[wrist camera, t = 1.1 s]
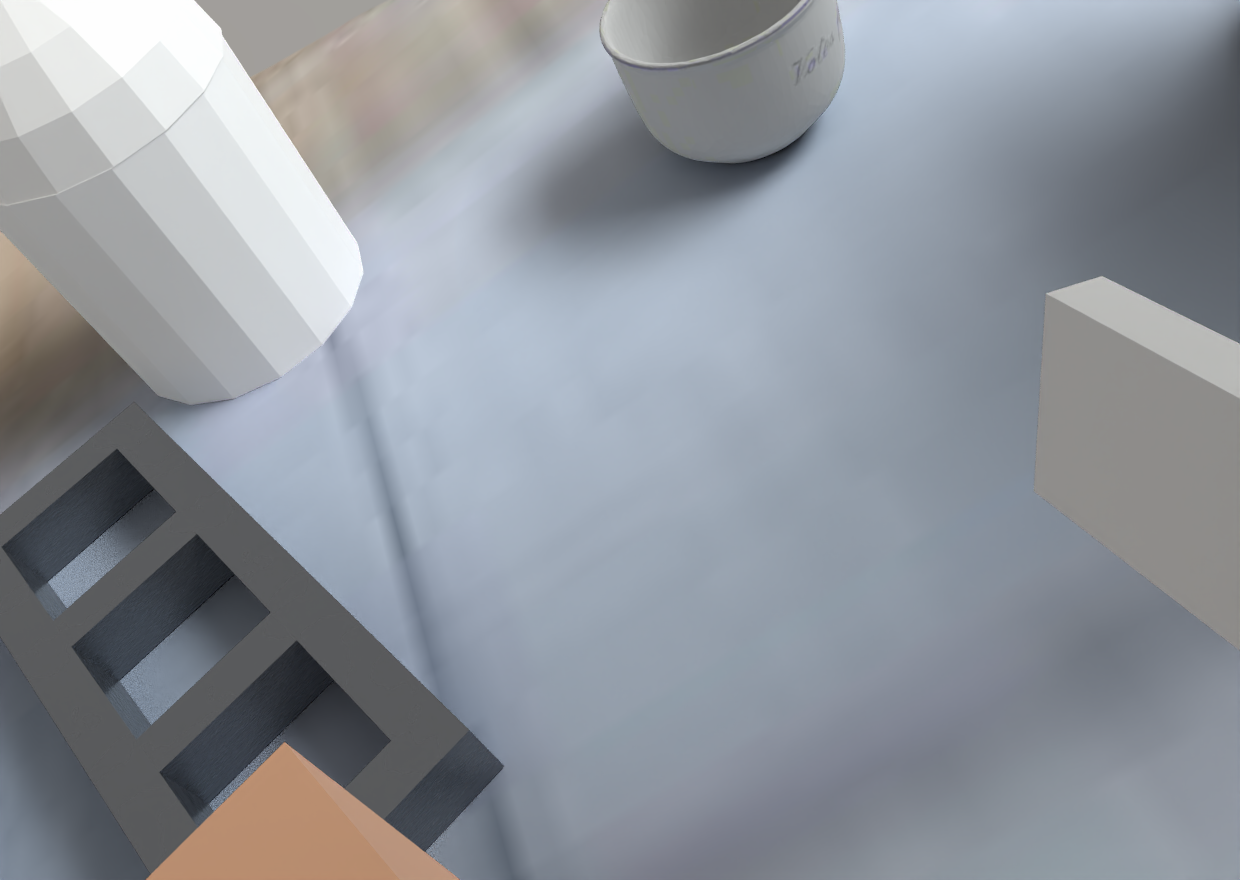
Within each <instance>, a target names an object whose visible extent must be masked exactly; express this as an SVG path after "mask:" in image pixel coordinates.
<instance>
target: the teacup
mask: <svg viewBox="0 0 1240 880" xmlns="http://www.w3.org/2000/svg"><path fill="white" fill-rule="evenodd" d="M599 31H600V38H601V41H602V44H603V46H604V48H605V50H606V51H607V53H608V54H609V55H610V56H611V57H612V59H613V61H614V64H615V66H616V68H617V70H618V73H619V75H620V77H621V79H622V81H623V83H624V85H625V87H626V89H627V92H628V94H629V96H630V98H631V100H632V102H633V104H634V106H635V108H636V110H637V112H638V113H639V115H640V117H641V119H642V120H643V122H644V124H645V125H646V127H647V128H648V130H649V131H650V132H651V134H652V135H653V136H654V137H655V138H656V139H657V140H658V141H659V142H660V143H661V144H662V145H663V146H665V147H666V148H668V149H669V150H671V151H672V152H674V153H676V154H678V155H681V156H683V157H686V158H689V159H692V160H697V161H704V162H717V163H741V162H748V161H752V160H756V159H760V158H763V157H766V156H768V155H770V154H773V153H775V152H777V151H779V150H781V149H783V148H785V147H786V146H788V145H789V144H791V143H792V142H793V141H795V140H796V139H798V138H799V137H800V136H801V135H802V134H803V133H804V132H805V131H806V130H807V129H808V128H809V127H810V126H811V125H812V124H813V123H814V122H815V121H816V120H817V119H818V118H819V117H820V116H821V115H822V114H823V112H824V111H825V110H826V109H827V108H828V106H829V105H830V103H831V102H832V100H833V98H834V96H835V94H836V93H837V90H838V88H839V86H840V83H841V80H842V77H843V72H844V65H845V44H844V36H843V29H842V24H841V19H840V14H839V9H838V4H837V0H608V2H607V4H606V6H605V8H604V10H603V14H602V17H601V20H600V29H599Z"/></svg>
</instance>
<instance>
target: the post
mask: <svg viewBox="0 0 1240 880" xmlns="http://www.w3.org/2000/svg"><path fill="white" fill-rule="evenodd" d="M146 880H460V879H459V878H457V877H456V876H455V875H454V874H452V873H451V872H450V871H448V870H447V869H446V868H445V867H443V866H442V865H441V864H440V863H438V862H437V861H436V860H434V859H433V858H432V857H431V856H429V855H428V854H427V853H425V852H424V851H423V850H422V849H420V848H419V847H418V846H417V845H415V844H414V843H413V842H411V841H410V840H409V839H408V838H406V837H405V836H404V835H403V834H401V833H400V832H399V831H397V830H396V829H395V828H394V827H392V826H391V825H390V824H388V823H387V822H386V821H385V820H383V819H382V818H381V817H380V816H378V815H377V814H376V813H374V812H373V811H372V810H371V809H369V808H368V807H367V806H366V805H364V804H363V803H362V802H360V801H359V800H358V799H357V798H355V797H354V796H353V795H351V794H350V793H349V792H348V791H346V790H345V789H344V788H343V787H341V786H340V785H339V784H337V783H336V782H335V781H334V780H332V779H331V778H330V777H329V776H327V775H326V774H325V773H323V772H322V771H321V770H320V769H318V768H317V767H316V766H314V765H313V764H312V763H311V762H309V761H308V760H307V759H306V758H304V757H303V756H302V755H300V754H299V753H298V752H297V751H295V750H294V749H293V748H292V747H290V746H289V745H288V744H286V743H285V742H284V743H283V744H282V745H281V746H280V747H279V748H278V749H277V750H276V751H275V752H274V753H273V754H272V755H271V756H270V757H269V758H268V759H267V760H266V761H265V762H264V763H263V764H262V765H261V766H260V767H259V768H258V769H257V770H256V771H255V772H254V773H253V774H252V775H251V776H250V777H249V778H248V779H247V780H246V781H245V782H244V783H243V784H242V785H241V786H240V787H239V788H238V789H236V790H235V791H234V792H233V793H232V794H231V795H230V796H229V797H228V798H227V799H226V800H225V801H224V802H223V803H222V804H221V805H220V806H219V807H218V808H217V809H216V810H215V811H214V812H213V813H212V814H211V815H210V816H209V817H208V818H207V819H206V820H205V821H204V822H203V823H202V824H201V825H200V826H199V827H198V828H197V829H196V830H195V831H194V832H193V833H192V834H191V835H190V836H189V837H188V838H187V839H186V840H185V841H184V842H183V843H182V844H181V845H180V846H179V847H178V848H177V849H176V850H175V851H174V852H173V853H172V854H171V855H170V856H169V857H168V858H167V859H166V860H165V861H164V862H163V863H162V864H161V865H160V866H159V867H158V868H157V869H156V870H155V871H154V872H153V873H152V874H151V875H150V876H149V877H148V878H147V879H146Z"/></svg>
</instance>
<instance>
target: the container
mask: <svg viewBox="0 0 1240 880" xmlns="http://www.w3.org/2000/svg"><path fill="white" fill-rule="evenodd" d="M0 231H1V232H2V233H3V234H4V235H5V236H6V237H7V238H8V239H9V240H10V241H11V242H12V243H13V244H14V245H15V246H16V247H17V248H18V249H19V251H20V252H21V253H22V254H23V255H24V256H25V257H26V258H27V259H28V260H29V261H30V262H31V263H32V264H33V265H34V266H35V267H36V268H37V269H38V270H39V272H40V273H41V274H42V275H43V276H44V277H45V278H46V279H47V280H48V281H49V282H50V283H51V284H52V285H53V286H54V287H55V288H56V289H57V290H58V291H59V292H60V294H61V295H62V296H63V297H64V298H65V299H66V300H67V301H68V302H69V303H70V304H71V305H72V306H73V307H74V308H75V309H76V310H77V311H78V312H79V313H80V314H81V316H82V317H83V318H84V319H85V320H86V321H87V322H88V323H89V324H90V325H91V326H92V327H93V328H94V329H95V330H96V331H97V332H98V333H99V334H100V335H101V336H102V338H103V339H104V340H105V341H106V342H107V343H108V344H109V345H110V346H111V347H112V348H113V349H114V350H115V351H116V352H117V353H118V354H119V355H120V356H121V357H122V358H123V360H124V361H125V362H126V363H127V364H128V365H129V366H130V367H131V368H132V369H133V370H134V371H135V372H136V373H137V374H138V375H139V376H140V377H141V378H142V379H143V380H144V382H145V383H146V384H147V385H148V386H149V387H150V388H151V389H152V390H153V391H154V392H155V393H156V394H157V395H158V396H160V397H164V398H167V399H171V400H174V401H178V402H181V403H185V404H188V405H195V404H202V403H209V402H216V401H222V400H229V399H235V398H237V397H239V396H241V395H244V394H246V393H248V392H250V391H252V390H255V389H257V388H259V387H261V386H263V385H266V384H268V383H270V382H272V381H274V380H277V379H279V378H281V377H282V376H284V375H285V374H286V373H287V372H289V371H290V370H291V369H293V368H294V367H295V366H296V365H298V364H299V363H300V362H302V361H303V360H304V359H305V358H307V357H308V356H309V355H311V354H312V353H313V352H314V351H316V350H317V349H318V348H320V347H321V346H322V345H323V344H324V343H325V341H326V340H327V339H328V338H329V336H330V335H331V334H332V332H333V331H334V330H335V329H336V327H337V326H338V325H339V323H340V322H341V321H342V320H343V318H344V317H345V316H346V314H347V313H348V312H349V310H350V309H351V308H352V305H353V302H354V299H355V296H356V293H357V290H358V287H359V284H360V281H361V278H362V275H363V267H362V262H361V257H360V252H359V247H358V243H357V242H356V240H355V239H354V237H353V236H352V234H351V233H350V231H349V230H348V228H347V226H346V225H345V223H344V222H343V220H342V219H341V217H340V216H339V214H338V213H337V211H336V210H335V208H334V207H333V205H332V203H331V202H330V200H329V199H328V197H327V196H326V194H325V193H324V191H323V190H322V188H321V187H320V185H319V183H318V182H317V180H316V179H315V177H314V176H313V174H312V173H311V171H310V170H309V168H308V167H307V165H306V164H305V162H304V160H303V159H302V157H301V156H300V154H299V153H298V151H297V150H296V148H295V147H294V145H293V144H292V142H291V140H290V139H289V137H288V136H287V134H286V133H285V131H284V130H283V128H282V127H281V125H280V124H279V122H278V120H277V119H276V117H275V116H274V114H273V113H272V111H271V110H270V108H269V107H268V105H267V104H266V102H265V101H264V99H263V97H262V96H261V94H260V93H259V91H258V90H257V88H256V87H255V85H254V84H253V82H252V81H251V79H250V77H249V76H248V75H247V73H246V71H245V70H244V68H243V67H242V65H241V64H240V62H239V61H238V59H237V58H236V56H235V55H234V53H233V52H232V50H231V48H230V47H229V45H228V44H227V42H226V41H225V39H224V38H223V36H222V31H221V28H220V27H219V26H218V25H217V24H216V23H215V22H214V21H213V20H212V19H211V18H210V17H209V16H208V15H207V13H206V12H205V11H204V10H203V9H202V8H201V7H200V6H199V5H198V4H197V3H196V2H195V1H194V0H0Z"/></svg>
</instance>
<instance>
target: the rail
mask: <svg viewBox="0 0 1240 880" xmlns="http://www.w3.org/2000/svg"><path fill="white" fill-rule="evenodd" d="M152 489H155V490H156V491H157V492H158V493H159V494H160V495H161V496H162V497H163V498H164V499H165V500H166V501H167V502H168V503H169V504H170V506H171V507H172V508H173V509H174V510H175V511H176V513H174V514H173V515H172V516H171V517H170V518H169V519H168V520H167V521H165V522H164V523H163V524H162V525H161V526H160V527H159V528H157V529H156V530H155V531H154V532H153V533H152V534H151V535H150V536H148V537H147V538H146V539H145V540H144V541H143V542H142V543H141V544H139V545H138V546H137V547H136V548H135V549H134V550H133V551H132V552H130V553H129V554H128V555H127V556H126V557H125V558H124V559H123V560H121V561H120V562H119V563H118V564H117V565H116V566H115V567H114V568H112V569H111V570H110V571H109V572H108V573H107V574H106V575H104V576H103V577H102V578H101V579H100V580H99V581H98V582H97V583H95V584H94V585H93V586H92V587H91V588H90V589H89V590H88V591H86V592H85V593H84V594H83V595H82V596H81V597H80V598H79V599H77V600H76V601H75V602H74V603H73V604H72V605H71V606H70V607H68V608H66V607H65V606H64V604H63V603H62V602H61V600H60V599H59V597H58V596H57V595H56V593H55V592H54V590H53V589H52V588H51V586H50V585H49V584H48V582H47V581H48V580H49V579H51V578H52V577H53V576H54V575H55V574H56V573H57V572H59V571H60V570H61V569H62V568H63V567H64V566H66V565H67V564H68V563H69V562H70V561H71V560H72V559H74V558H75V557H76V556H77V555H78V554H79V553H80V552H82V551H83V550H84V549H85V548H86V547H87V546H88V545H90V544H91V543H92V542H93V541H94V540H95V539H96V538H98V537H99V536H100V535H101V534H102V533H103V532H104V531H106V530H107V529H108V528H109V527H110V526H111V525H112V524H114V523H115V522H116V521H117V520H118V519H119V518H120V517H122V516H123V515H124V514H125V513H126V512H127V511H128V510H130V509H131V508H132V507H133V506H134V505H135V504H136V503H138V502H139V501H140V500H141V499H142V498H143V497H144V496H146V495H147V494H148V493H149V492H150V491H151V490H152ZM234 574H235V575H236V576H237V577H238V578H239V579H240V580H241V581H242V582H243V583H244V584H245V586H246V587H247V588H248V589H249V590H250V591H251V592H252V593H253V594H254V595H255V596H256V597H257V598H258V599H259V600H260V602H261V603H262V604H263V605H264V606H265V607H266V608H267V609H268V610H269V611H270V612H271V613H270V614H269V615H268V616H267V617H266V618H264V619H263V620H262V621H261V622H260V623H259V624H258V625H257V626H256V627H255V628H254V629H253V630H252V631H251V632H250V633H249V634H248V635H246V636H245V637H244V638H243V639H242V640H241V641H240V642H239V643H238V644H237V645H236V646H235V647H234V648H233V649H232V650H231V651H230V652H228V653H227V654H226V655H225V656H224V657H223V658H222V659H221V660H220V661H219V662H218V663H217V664H216V665H215V666H214V667H213V668H212V669H211V670H209V671H208V672H207V673H206V674H205V675H204V676H203V677H202V678H201V679H200V680H199V681H198V682H197V683H196V684H195V685H194V686H193V687H191V688H190V689H189V690H188V691H187V692H186V693H185V694H184V695H183V696H182V697H181V698H180V699H179V700H178V701H177V702H176V703H175V704H173V705H172V706H171V707H170V708H169V709H168V710H167V711H166V712H165V713H164V714H163V715H162V716H161V717H160V718H159V719H158V720H157V721H155V722H154V723H153V724H152V725H150V723H149V722H148V720H147V719H146V718H145V716H144V715H143V713H142V712H141V711H140V709H139V708H138V707H137V705H136V704H135V702H134V701H133V700H132V698H131V697H130V695H129V694H128V693H127V691H126V690H125V689H124V687H123V686H122V684H121V683H120V682H119V680H120V679H121V678H122V677H123V676H124V675H125V674H126V673H128V672H129V671H130V670H131V669H132V668H133V667H134V666H135V665H136V664H137V663H138V662H139V661H141V660H142V659H143V658H144V657H145V656H146V655H147V654H148V653H149V652H150V651H151V650H153V649H154V648H155V647H156V646H157V645H158V644H159V643H160V642H161V641H162V640H163V639H164V638H166V637H167V636H168V635H169V634H170V633H171V632H172V631H173V630H174V629H175V628H176V627H177V626H179V625H180V624H181V623H182V622H183V621H184V620H185V619H186V618H187V617H188V616H189V615H190V614H192V613H193V612H194V611H195V610H196V609H197V608H198V607H199V606H200V605H201V604H202V603H203V602H205V601H206V600H207V599H208V598H209V597H210V596H211V595H212V594H213V593H214V592H215V591H216V590H218V589H219V588H220V587H221V586H222V585H223V584H224V583H225V582H226V581H227V580H228V579H229V578H231V577H232V576H233V575H234ZM0 637H1V639H2V640H3V642H4V644H5V645H6V647H7V648H8V650H9V651H10V653H11V655H12V656H13V658H14V659H15V661H16V662H17V664H18V666H19V667H20V669H21V670H22V672H23V674H24V675H25V677H26V678H27V680H28V681H29V683H30V685H31V686H32V688H33V689H34V691H35V692H36V694H37V696H38V697H39V699H40V700H41V702H42V704H43V705H44V707H45V708H46V710H47V711H48V713H49V715H50V716H51V718H52V719H53V721H54V722H55V724H56V726H57V727H58V729H59V730H60V732H61V734H62V735H63V737H64V738H65V740H66V741H67V743H68V745H69V746H70V748H71V749H72V751H73V752H74V754H75V756H76V757H77V759H78V760H79V762H80V763H81V765H82V767H83V768H84V770H85V771H86V773H87V775H88V776H89V778H90V779H91V781H92V782H93V784H94V786H95V787H96V789H97V790H98V792H99V793H100V795H101V797H102V798H103V800H104V801H105V803H106V805H107V806H108V808H109V809H110V811H111V812H112V814H113V816H114V817H115V819H116V820H117V822H118V823H119V825H120V827H121V828H122V830H123V831H124V833H125V835H126V836H127V838H128V839H129V841H130V842H131V844H132V846H133V847H134V849H135V850H136V852H137V853H138V855H139V857H140V858H141V860H142V861H143V863H144V864H145V866H146V868H147V869H148V871H149V872H150V874H152V873H153V872H154V871H155V870H156V869H157V868H158V867H159V866H160V865H161V864H162V863H163V862H164V861H165V860H166V859H167V858H168V857H169V856H170V855H171V854H172V853H173V852H174V851H175V850H176V849H177V848H178V847H179V846H180V845H181V844H182V843H183V842H184V841H185V840H186V839H187V838H188V837H189V836H190V835H191V834H192V833H193V832H194V831H195V830H196V829H197V828H198V827H199V826H200V825H201V824H202V823H203V822H204V821H205V820H206V819H207V818H208V817H209V816H210V815H211V814H212V813H213V810H212V809H211V807H210V806H209V805H208V803H209V802H210V801H211V800H212V799H213V798H214V797H215V796H216V795H217V794H218V793H219V792H221V791H222V790H223V789H224V788H225V787H226V786H227V785H228V784H229V783H230V782H231V781H232V780H233V779H234V778H235V777H236V776H237V775H238V774H239V773H240V772H241V771H242V770H243V769H244V768H245V767H246V766H247V765H248V764H249V763H250V762H251V761H252V760H253V759H254V758H255V757H256V756H257V755H258V754H259V753H260V752H261V751H262V750H263V749H264V748H265V747H266V746H267V745H268V744H269V743H270V742H271V741H272V740H273V739H274V738H275V737H276V736H277V735H278V734H279V733H280V732H281V731H282V730H283V729H284V728H285V727H286V726H287V725H288V724H289V723H291V722H292V721H293V720H294V719H295V718H296V717H297V716H298V715H299V714H300V713H301V712H302V711H303V710H304V709H305V708H306V707H307V706H308V705H309V704H310V703H311V702H312V701H313V700H314V699H315V698H316V697H317V696H318V695H319V694H320V693H321V692H322V691H323V690H324V689H325V688H326V687H327V686H328V685H329V684H330V683H331V682H332V681H333V680H335V681H336V683H337V684H338V685H339V686H340V687H341V688H342V689H343V690H344V691H345V692H346V693H347V694H348V695H349V696H350V697H351V699H352V700H353V701H354V702H355V703H356V704H357V705H358V706H359V707H360V708H361V709H362V710H363V711H364V712H365V713H366V715H367V716H368V717H369V718H370V719H371V720H372V721H373V722H374V723H375V724H376V725H377V726H378V727H379V728H380V729H381V731H382V732H383V733H384V734H385V735H386V736H387V737H388V738H389V739H390V740H391V741H390V742H389V743H388V744H387V745H386V746H385V747H384V748H383V749H382V751H381V752H380V753H379V754H378V755H377V756H376V757H375V758H374V759H373V760H372V761H371V762H370V763H369V764H368V765H367V766H366V767H365V768H364V769H363V770H362V771H361V772H360V773H359V774H358V775H357V776H356V777H355V778H354V779H353V780H352V781H351V782H350V783H349V784H348V785H347V786H346V787H345V788H344V789H345V790H346V791H348V792H349V793H350V794H351V795H353V796H354V797H355V798H357V799H358V800H359V801H360V802H362V803H363V804H364V805H366V806H367V807H368V808H369V809H371V810H372V811H373V812H374V813H376V814H377V815H378V816H380V817H381V818H382V819H383V820H385V821H386V822H387V823H388V824H390V825H391V826H392V827H394V828H395V829H396V830H397V831H399V832H400V833H401V834H403V835H404V836H405V837H406V838H408V839H409V840H410V841H411V842H413V843H414V844H415V845H417V846H418V847H419V848H420V849H422V850H423V851H424V852H425V851H426V849H427V848H428V847H429V846H430V845H431V844H432V843H433V842H434V841H435V840H436V839H437V838H438V837H439V836H440V834H441V833H442V832H443V831H444V830H445V829H446V828H447V827H448V826H449V825H450V824H451V823H452V822H453V820H454V819H455V818H456V817H457V816H458V815H459V814H460V813H461V812H462V811H463V810H464V809H465V808H466V807H467V805H468V804H469V803H470V802H471V801H472V800H473V799H474V798H475V797H476V796H477V795H478V794H479V793H480V792H481V790H482V789H483V788H484V787H485V786H486V785H487V784H488V783H489V782H490V781H491V780H492V779H493V778H494V777H495V775H496V774H497V773H498V772H499V771H500V770H501V769H502V768H503V767H504V766H503V765H502V764H501V763H500V761H499V760H498V759H497V758H496V757H495V756H494V755H493V754H492V753H491V752H490V751H489V750H488V749H487V748H486V747H485V746H484V745H483V744H482V743H481V742H480V741H479V740H478V739H477V738H476V737H475V736H474V735H473V734H472V733H471V732H470V730H469V729H468V728H466V727H465V726H464V725H463V724H462V723H461V722H460V721H459V720H458V719H457V718H456V717H455V716H454V715H453V714H452V713H451V712H450V711H449V710H448V709H447V708H446V707H445V706H444V705H443V704H442V703H441V702H440V701H439V700H438V699H437V698H436V697H435V696H434V695H433V694H432V693H431V692H430V691H429V690H428V689H427V688H426V687H425V686H424V685H423V684H422V683H421V682H420V681H418V680H417V679H416V678H415V677H414V676H413V675H412V674H411V673H410V672H409V671H408V670H407V669H406V668H405V667H404V666H403V665H402V664H401V663H400V662H399V661H398V660H397V659H396V658H395V657H394V656H393V655H392V654H391V653H390V652H389V651H388V650H387V649H386V648H385V647H384V646H383V645H382V644H381V643H380V642H379V641H378V640H377V639H376V638H375V637H374V636H373V635H372V634H370V633H369V632H368V631H367V630H366V629H365V628H364V627H363V626H362V625H361V624H360V623H359V622H358V621H357V620H356V619H355V618H354V617H353V616H352V615H351V614H350V613H349V612H348V611H347V610H346V609H345V608H344V607H343V606H342V605H341V604H340V603H339V602H338V601H337V600H336V599H335V598H334V597H333V596H332V595H331V594H330V593H329V592H328V591H327V590H326V589H325V588H324V587H322V586H321V585H320V584H319V583H318V582H317V581H316V580H315V579H314V578H313V577H312V576H311V575H310V574H309V573H308V572H307V571H306V570H305V569H304V568H303V567H302V566H301V565H300V564H299V563H298V562H297V561H296V560H295V559H294V558H293V557H292V556H291V555H290V554H289V553H288V552H287V551H286V550H285V549H284V548H283V547H282V546H281V545H280V544H279V543H278V542H277V541H276V540H274V539H273V538H272V537H271V536H270V535H269V534H268V533H267V532H266V531H265V530H264V529H263V528H262V527H261V526H260V525H259V524H258V523H257V522H256V521H255V520H254V519H253V518H252V517H251V516H250V515H249V514H248V513H247V512H246V511H245V510H244V509H243V508H242V507H241V506H240V505H239V504H238V503H237V502H236V501H235V500H234V499H233V498H232V497H231V496H230V495H229V494H228V493H226V492H225V491H224V490H223V489H222V488H221V487H220V486H219V485H218V484H217V483H216V482H215V481H214V480H213V479H212V478H211V477H210V476H209V475H208V474H207V473H206V472H205V471H204V470H203V469H202V468H201V467H200V466H199V465H198V464H197V463H196V462H195V461H194V460H193V459H192V458H191V457H190V456H189V455H188V454H187V453H186V452H185V451H184V450H183V449H182V448H181V447H180V446H178V445H177V444H176V443H175V442H174V441H173V440H172V439H171V438H170V437H169V436H168V435H167V434H166V433H165V432H164V431H163V430H162V429H161V428H160V427H159V426H158V425H157V424H156V423H155V422H154V421H153V420H152V419H151V418H150V417H149V416H148V415H147V414H146V413H145V412H144V411H143V410H142V409H141V408H140V407H139V406H138V405H137V404H136V403H135V402H133V403H132V404H131V405H130V406H129V407H128V408H126V409H125V410H124V411H123V412H122V413H120V414H119V415H118V416H117V417H116V418H114V419H113V420H112V421H111V422H110V423H109V424H107V425H106V426H105V427H104V428H103V429H101V430H100V431H99V432H98V433H97V434H95V435H94V436H93V437H92V438H91V439H90V440H88V441H87V442H86V443H85V444H84V445H82V446H81V447H80V448H79V449H78V450H76V451H75V452H74V453H73V454H72V455H71V456H69V457H68V458H67V459H66V460H65V461H63V462H62V463H61V464H60V465H59V466H57V467H56V468H55V469H54V470H53V471H52V472H50V473H49V474H48V475H47V476H46V477H44V478H43V479H42V480H41V481H40V482H39V483H37V484H36V485H35V486H34V487H33V488H31V489H30V490H29V491H28V492H27V493H25V494H24V495H23V496H22V497H21V498H20V499H18V500H17V501H16V502H15V503H14V504H12V505H11V506H10V507H9V508H8V509H6V510H5V511H4V512H3V513H2V514H1V515H0Z"/></svg>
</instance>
